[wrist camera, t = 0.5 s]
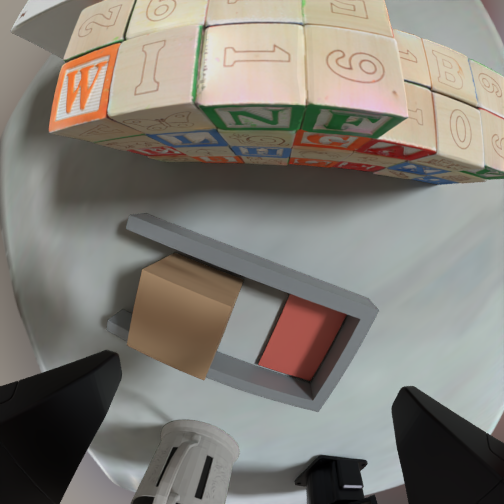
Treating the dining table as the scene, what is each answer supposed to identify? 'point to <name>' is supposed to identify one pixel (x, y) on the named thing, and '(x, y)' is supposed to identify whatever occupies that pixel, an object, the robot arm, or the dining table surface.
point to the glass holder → (189, 466)
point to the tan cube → (182, 313)
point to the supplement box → (50, 23)
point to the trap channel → (287, 328)
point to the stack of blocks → (279, 89)
